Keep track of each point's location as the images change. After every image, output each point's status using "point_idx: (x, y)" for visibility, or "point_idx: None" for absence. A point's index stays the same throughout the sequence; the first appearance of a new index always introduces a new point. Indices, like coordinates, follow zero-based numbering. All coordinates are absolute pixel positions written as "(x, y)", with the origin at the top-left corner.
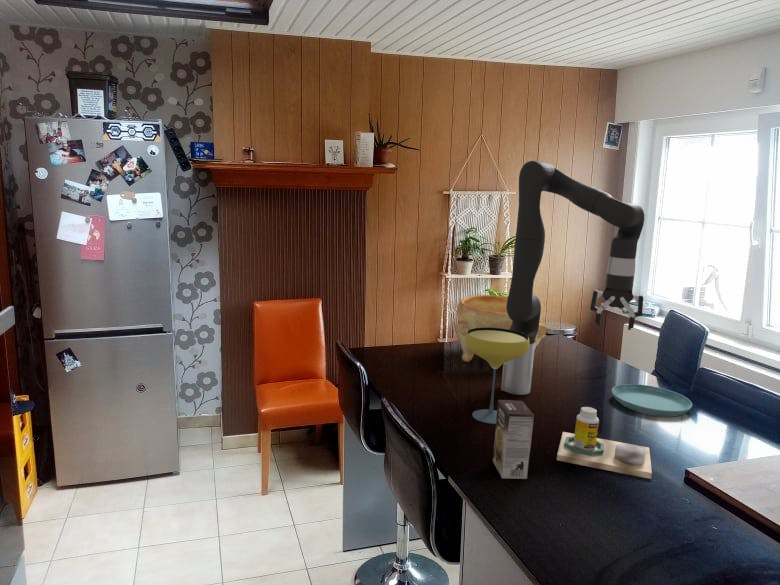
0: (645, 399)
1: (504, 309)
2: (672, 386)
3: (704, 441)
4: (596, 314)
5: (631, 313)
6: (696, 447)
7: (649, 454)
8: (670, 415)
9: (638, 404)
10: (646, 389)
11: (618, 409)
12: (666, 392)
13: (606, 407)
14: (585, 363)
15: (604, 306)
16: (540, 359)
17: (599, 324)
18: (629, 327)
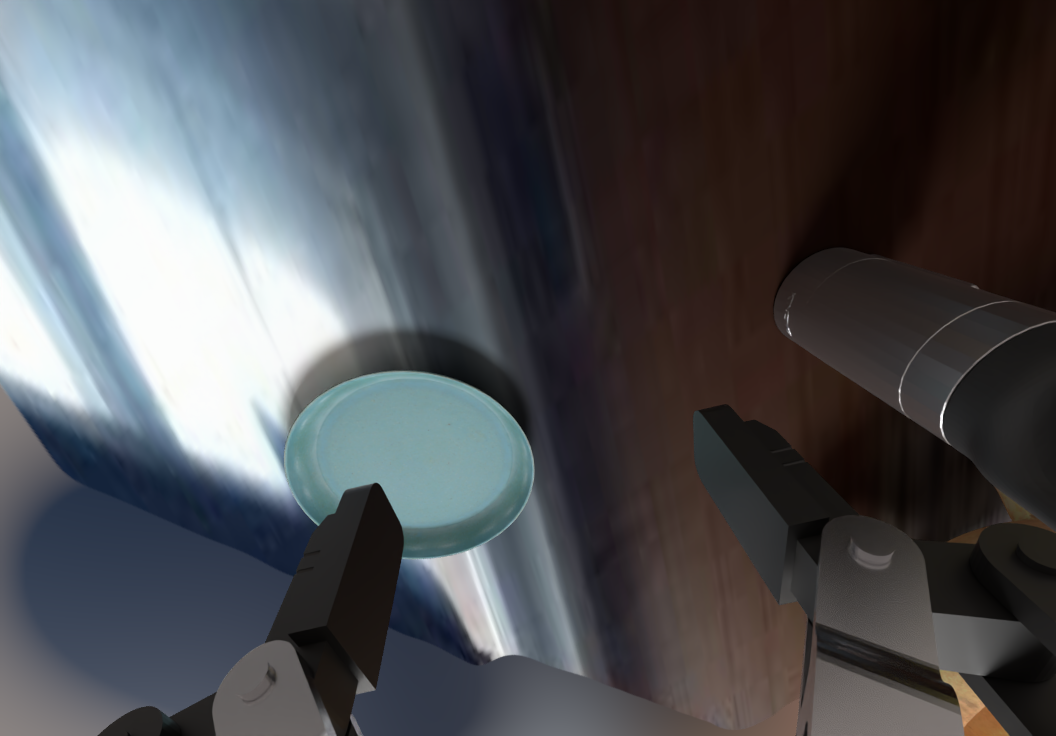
0: (439, 483)
1: (998, 724)
2: (419, 615)
3: (149, 257)
4: (846, 507)
5: (269, 717)
6: (133, 171)
7: None
8: (327, 401)
9: (441, 431)
10: (455, 540)
11: (481, 358)
12: None
13: (518, 350)
14: (651, 626)
15: (871, 686)
16: (766, 585)
17: (707, 415)
18: (355, 502)
